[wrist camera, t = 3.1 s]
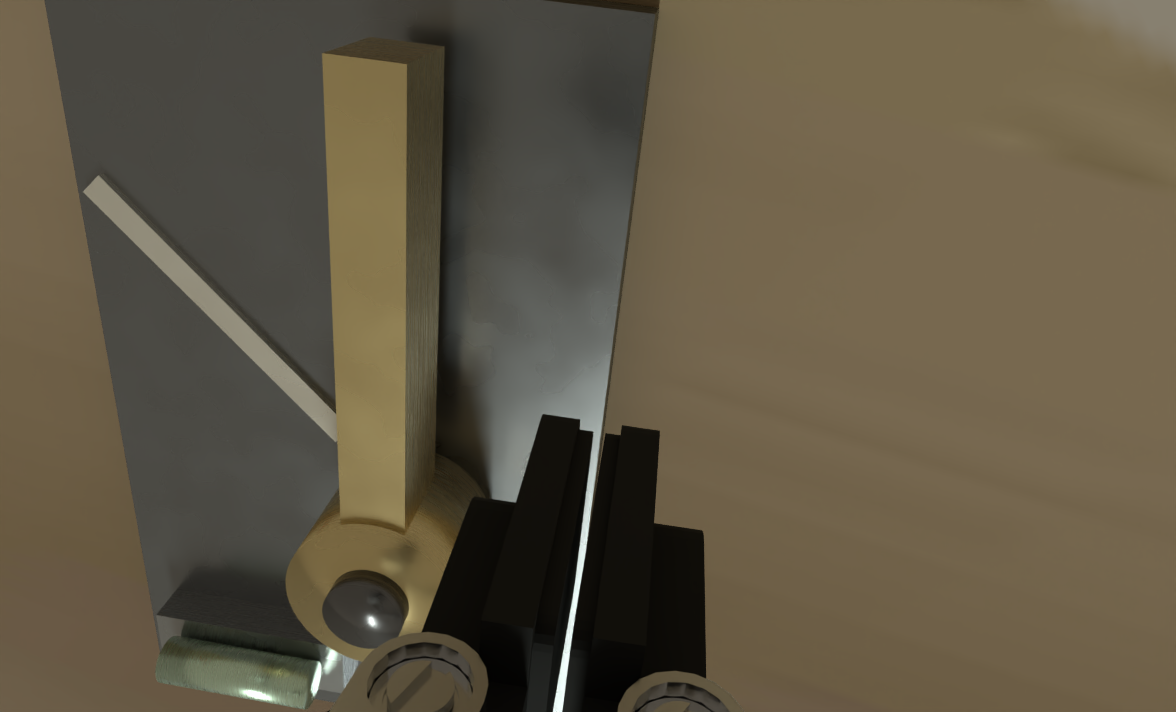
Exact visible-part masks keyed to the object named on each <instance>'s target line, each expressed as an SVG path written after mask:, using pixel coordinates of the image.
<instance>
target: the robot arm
mask: <svg viewBox="0 0 1176 712" xmlns="http://www.w3.org/2000/svg"><path fill="white" fill-rule="evenodd" d="M593 433H594V432H593V431H587V430H580V419H574V418H567V417H561V416H554V415H547V414H543V415H542V417H541V420H540V423H539V426H538V430H537V433H536V436H535V440H534V443H533V446H532V450H531V453H530V457H529V460H528V463H527V467H526V470H525V473H524V477H523V480H522V483H521V487H520V490H519V494H518V497H517V500H516V503H515V502H509V501H502V500H495V499H489V498H482V497H475V496H474V497H473V498H472V500H471V502H470V504H469V506H468V509H467V512H466V514H465V517H464V520H463V522H462V525H461V528H460V530H459V533H458V536H457V538H456V541H455V544H454V546H453V549H452V552H451V554H450V557H449V560H448V562H447V565H446V568H445V570H444V573H443V576H442V578H441V581H440V584H439V586H438V589H437V592H436V594H435V597H434V600H433V602H432V605H431V608H430V610H429V613H428V616H427V618H426V621H425V624H424V626H423V629H422V632H421V633H410V634H406V635H402V636H399V637H396V638H393V639H390V640H388V641H387V642H385V643H383V644H382V645H380V646H379V647H377V648H376V649H374V650H372V651H371V653H370V654H369V655H368V656H367V657H366V658H365V659H364V660H363V662H362V663H361V664H360V665H359V666H358V668H357V670H356V671H355V673H354V674H353V676H352V677H351V679H350V680H349V682H348V683H347V685H346V687H345V688H344V690H343V691H342V693H341V694H340V696H339V697H338V699H337V700H336V702H335V704H334V705H333V707H332V708H331V710H329V711H327V712H553V708H554V702H555V696H556V691H557V685H558V679H559V674H560V668H561V662H562V656H563V651H564V645H565V639H566V633H567V628H568V622H569V616H570V611H571V605H572V599H573V593H574V586H575V579H576V572H577V563H578V555H579V547H580V539H581V531H582V523H583V515H584V507H585V499H586V491H587V483H588V475H589V467H590V459H591V451H592V443H593ZM659 437H660V431H657V430H650V429H643V428H637V427H630V426H623V425H622V429H621V435H614V434H607V433H606V434H605V440H604V446H603V452H602V458H601V464H600V470H599V476H598V482H597V488H596V494H595V500H594V506H593V512H592V518H591V524H590V530H589V536H588V542H587V548H586V554H585V560H584V566H583V572H582V578H581V584H580V590H579V596H578V602H577V608H576V614H575V620H574V627H573V633H572V640H571V647H570V655H569V663H568V671H567V679H566V686H565V694H564V702H563V710H562V712H744V710H743V709H742V708H741V706H740V705H739V704H738V703H737V702H736V700H735V699H734V698H733V697H732V695H731V694H730V693H728V692H727V691H725V690H724V689H723V688H721V687H720V686H719V685H717V684H716V683H715V682H713V681H710V680H708V679H706V642H705V578H704V535H703V531H702V530H695V529H689V528H682V527H675V526H669V525H662V524H655V523H654V514H655V499H656V483H657V468H658V452H659Z"/></svg>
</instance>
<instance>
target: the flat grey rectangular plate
mask: <svg viewBox="0 0 1176 712" xmlns="http://www.w3.org/2000/svg"><path fill="white" fill-rule="evenodd" d="M45 5H46V11H47V17H48V22H49V28H50V34H51V39H52V45H53V51H54V56H55V62H56V67H57V73H58V79H59V84H60V90H61V96H62V101H63V107H64V113H65V118H66V124H67V130H68V135H69V141H70V146H71V152H72V158H73V163H74V169H75V175H76V180H77V186H78V192H79V197H80V203H81V209H82V214H83V220H84V225H85V231H86V237H87V242H88V248H89V254H90V259H91V265H92V271H93V276H94V282H95V288H96V293H97V299H98V304H99V310H100V316H101V321H102V327H103V333H104V338H105V344H106V350H107V355H108V361H109V367H110V372H111V378H112V383H113V389H114V395H115V400H116V406H117V412H118V417H119V423H120V429H121V434H122V440H123V446H124V451H125V457H126V462H127V468H128V474H129V479H130V485H131V491H132V496H133V502H134V508H135V513H136V519H137V525H138V530H139V536H140V541H141V547H142V553H143V558H144V564H145V570H146V575H147V581H148V587H149V592H150V598H151V604H152V609H153V615H154V620H155V626H156V632H157V637H158V643H159V649H160V654H159V657H158V660H157V664H156V671H155V672H156V679H157V681H158V682H160V683H164V684H170V685H175V686H181V687H186V688H192V689H197V690H202V691H208V692H213V693H219V694H224V695H230V696H235V697H240V698H246V699H251V700H257V701H262V702H268V703H273V704H278V705H284V706H289V707H295V708H300V709H308V708H309V707H310V705H311V704H312V702H313V700H314V699H319V700H324V701H330V702H336V700H337V699H338V697H339V696H340V694H341V693H342V691H343V690H344V688H345V687H346V685H347V683H348V682H349V680H350V679H351V677H352V676H353V674H354V673H355V671H356V670H357V668H358V666H359V665H360V664H361V663H362V662H361V661H357V660H354V659H351V658H349V657H346V656H344V655H342V654H340V653H338V652H336V651H334V650H332V649H330V648H329V647H327V646H326V645H324V644H323V643H321V642H320V641H319V640H318V639H316V638H315V637H314V636H313V635H312V634H311V633H310V632H309V631H308V630H307V629H306V628H305V627H304V626H303V625H302V623H301V622H300V621H299V619H298V618H297V616H296V615H295V613H294V611H293V609H292V607H291V605H290V603H289V600H288V596H287V592H286V573H287V569H288V566H289V563H290V561H291V559H292V558H293V556H294V554H295V553H296V551H297V550H298V548H299V547H300V545H301V544H302V542H303V541H304V539H305V538H306V536H307V535H308V533H309V532H310V530H311V529H312V527H313V526H314V524H315V523H316V521H317V520H318V518H319V517H320V515H321V514H322V512H323V511H324V509H325V507H326V506H327V504H328V503H329V501H330V500H331V498H332V497H333V495H334V494H335V492H336V491H337V489H338V488H339V470H338V445H337V419H336V394H335V368H334V343H333V317H332V292H331V266H330V241H329V216H328V190H327V165H326V139H325V114H324V88H323V63H322V53H324V52H327V51H330V50H333V49H336V48H339V47H342V46H345V45H348V44H351V43H353V42H356V41H359V40H362V39H365V38H368V37H376V38H383V39H391V40H399V41H407V42H415V43H422V44H430V45H438V46H445V59H444V101H443V143H442V185H441V227H440V270H439V312H438V354H437V396H436V438H435V453H437V454H439V455H442V456H444V457H446V458H448V459H449V460H451V461H453V462H455V463H456V464H457V465H459V466H460V467H461V468H463V469H464V470H465V471H466V472H467V473H468V474H469V475H470V476H471V477H472V478H473V479H474V480H475V482H476V483H477V484H478V486H479V487H480V489H481V490H482V492H483V494H484V496H485V498H489V499H495V500H502V501H509V502H515V503H516V500H517V497H518V494H519V490H520V487H521V483H522V480H523V477H524V473H525V470H526V467H527V463H528V460H529V457H530V453H531V450H532V446H533V443H534V440H535V436H536V433H537V430H538V426H539V423H540V420H541V417H542V415H543V414H547V415H554V416H561V417H567V418H574V419H580V430H587V431H593V432H594V433H593V443H592V451H591V459H590V467H589V475H588V483H587V491H586V499H585V507H584V515H583V523H582V531H581V539H580V547H579V555H578V563H577V572H576V579H575V586H574V593H573V599H572V605H571V611H570V616H569V622H568V628H567V633H566V639H565V645H564V651H563V656H562V662H561V668H560V674H559V679H558V685H557V691H556V696H555V702H554V708H553V712H562V710H563V702H564V694H565V686H566V679H567V671H568V663H569V655H570V647H571V640H572V633H573V627H574V620H575V614H576V608H577V602H578V596H579V590H580V584H581V578H582V572H583V566H584V560H585V554H586V548H587V542H588V536H589V530H590V524H591V518H592V512H593V506H594V500H595V494H596V487H597V479H598V471H599V464H600V456H601V448H602V441H603V433H604V426H605V418H606V410H607V403H608V395H609V387H610V380H611V372H612V365H613V357H614V349H615V342H616V334H617V326H618V319H619V311H620V303H621V296H622V288H623V281H624V273H625V265H626V258H627V250H628V242H629V235H630V227H631V220H632V212H633V204H634V197H635V189H636V181H637V174H638V166H639V158H640V151H641V143H642V136H643V128H644V120H645V113H646V105H647V97H648V90H649V82H650V75H651V67H652V59H653V52H654V44H655V36H656V29H657V21H658V13H659V8H657V7H649V6H641V5H633V4H625V3H617V2H608V1H600V0H45Z"/></svg>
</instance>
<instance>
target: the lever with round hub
mask: <svg viewBox="0 0 1176 712" xmlns="http://www.w3.org/2000/svg"><path fill="white" fill-rule="evenodd" d="M444 59H445V46H438V45H430V44H422V43H415V42H407V41H399V40H391V39H383V38H376V37H368V38H365V39H362V40H359V41H356V42H353V43H351V44H348V45H345V46H342V47H339V48H336V49H333V50H330V51H327V52H324V53H322V63H323V88H324V114H325V139H326V165H327V190H328V216H329V241H330V266H331V292H332V317H333V343H334V368H335V394H336V419H337V445H338V470H339V488H338V489H337V491H336V492H335V494H334V495H333V497H332V498H331V500H330V501H329V503H328V504H327V506H326V507H325V509H324V511H323V512H322V514H321V515H320V517H319V518H318V520H317V521H316V523H315V524H314V526H313V527H312V529H311V530H310V532H309V533H308V535H307V536H306V538H305V539H304V541H303V542H302V544H301V545H300V547H299V548H298V550H297V551H296V553H295V554H294V556H293V558H292V559H291V561H290V563H289V566H288V569H287V573H286V592H287V596H288V600H289V603H290V605H291V607H292V609H293V611H294V613H295V615H296V616H297V618H298V619H299V621H300V622H301V623H302V625H303V626H304V627H305V628H306V629H307V630H308V631H309V632H310V633H311V634H312V635H313V636H314V637H315V638H316V639H318V640H319V641H320V642H321V643H323V644H324V645H326V646H327V647H329V648H330V649H332V650H334V651H336V652H338V653H340V654H342V655H344V656H346V657H349V658H351V659H354V660H357V661H361V662H363V660H364V659H365V658H366V657H367V656H368V655H369V654H370V653H371V651H372V650H374V649H376V648H377V647H379V646H380V645H382V644H383V643H385V642H387V641H388V640H390V639H393V638H396V637H399V636H402V635H406V634H410V633H421V632H422V629H423V626H424V624H425V621H426V618H427V616H428V613H429V610H430V608H431V605H432V602H433V600H434V597H435V594H436V592H437V589H438V586H439V584H440V581H441V578H442V576H443V573H444V570H445V568H446V565H447V562H448V560H449V557H450V554H451V552H452V549H453V546H454V544H455V541H456V538H457V536H458V533H459V530H460V528H461V525H462V522H463V520H464V517H465V514H466V512H467V509H468V506H469V504H470V502H471V500H472V498H473V497H474V496H475V497H482V498H485V496H484V494H483V492H482V490H481V489H480V487H479V486H478V484H477V483H476V482H475V480H474V479H473V478H472V477H471V476H470V475H469V474H468V473H467V472H466V471H465V470H464V469H463V468H461V467H460V466H459V465H457V464H456V463H455V462H453V461H451V460H449V459H448V458H446V457H444V456H442V455H439V454H437V453H435V438H436V396H437V354H438V312H439V270H440V227H441V185H442V143H443V101H444Z"/></svg>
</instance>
